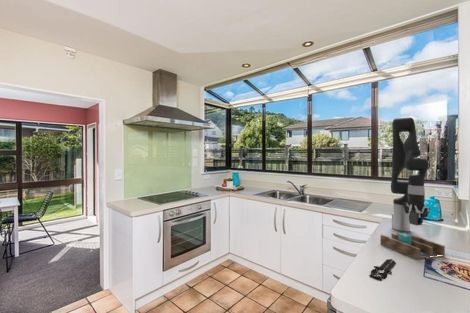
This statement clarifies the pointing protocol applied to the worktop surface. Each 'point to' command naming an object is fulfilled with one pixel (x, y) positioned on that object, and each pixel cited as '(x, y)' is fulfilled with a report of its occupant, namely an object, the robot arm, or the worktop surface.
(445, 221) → the worktop surface
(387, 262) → the black bumpy piece
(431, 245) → the wooden bookshelf
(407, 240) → the teal plug
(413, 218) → the charcoal plug
